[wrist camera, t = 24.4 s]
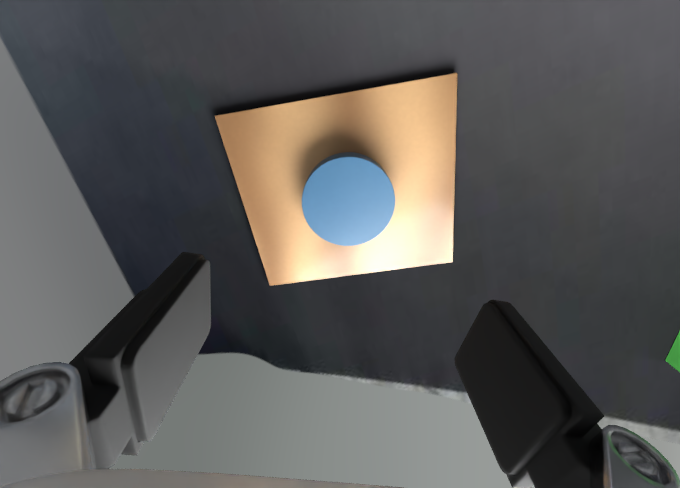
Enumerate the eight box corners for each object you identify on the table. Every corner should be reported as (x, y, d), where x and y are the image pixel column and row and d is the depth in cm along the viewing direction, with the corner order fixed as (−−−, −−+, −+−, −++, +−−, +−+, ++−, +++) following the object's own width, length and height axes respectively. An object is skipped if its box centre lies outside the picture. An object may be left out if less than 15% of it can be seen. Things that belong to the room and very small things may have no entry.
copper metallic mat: (270, 283, 26) (269, 286, 26) (216, 115, 20) (214, 115, 19) (451, 259, 25) (452, 262, 24) (455, 72, 18) (457, 72, 18)
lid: (406, 211, 22) (411, 219, 21) (334, 250, 24) (334, 261, 22) (363, 133, 20) (365, 136, 18) (286, 183, 21) (282, 190, 20)
